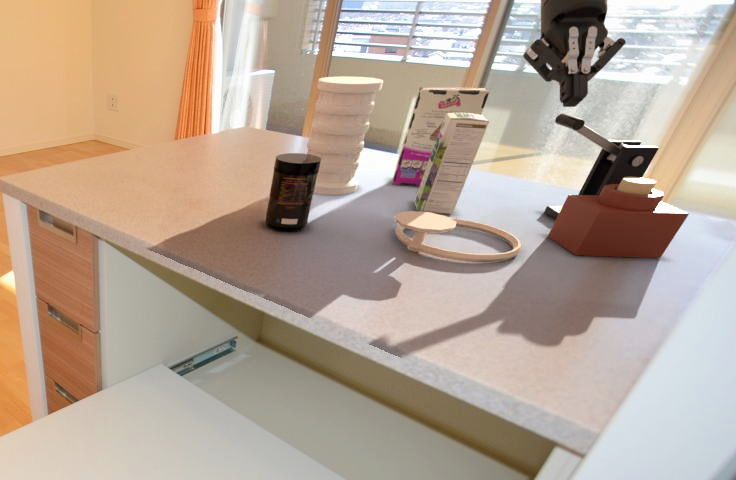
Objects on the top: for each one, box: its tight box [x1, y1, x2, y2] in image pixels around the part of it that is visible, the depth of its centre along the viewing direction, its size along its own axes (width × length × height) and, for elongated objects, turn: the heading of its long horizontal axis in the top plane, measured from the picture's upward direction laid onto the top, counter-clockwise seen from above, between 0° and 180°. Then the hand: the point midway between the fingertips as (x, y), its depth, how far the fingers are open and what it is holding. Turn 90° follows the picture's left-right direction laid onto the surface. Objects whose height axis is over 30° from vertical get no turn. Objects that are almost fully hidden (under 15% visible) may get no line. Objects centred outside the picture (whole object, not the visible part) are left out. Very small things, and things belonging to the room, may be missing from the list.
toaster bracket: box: [543, 139, 660, 221], centre depth 84 cm, size 9×10×12 cm
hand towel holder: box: [394, 210, 522, 263], centre depth 80 cm, size 17×4×21 cm
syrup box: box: [414, 113, 490, 215], centre depth 91 cm, size 6×6×14 cm
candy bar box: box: [392, 86, 490, 188], centre depth 102 cm, size 11×5×16 cm, turn 67°
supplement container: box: [264, 152, 321, 233], centre depth 86 cm, size 7×7×10 cm
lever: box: [554, 112, 629, 162], centre depth 81 cm, size 13×5×2 cm, turn 82°
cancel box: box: [547, 184, 690, 259], centre depth 77 cm, size 11×8×8 cm
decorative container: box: [306, 75, 384, 196], centre depth 102 cm, size 12×12×18 cm
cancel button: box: [617, 177, 657, 195], centre depth 75 cm, size 4×4×2 cm
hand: (573, 103), depth 80 cm, fingers closed
